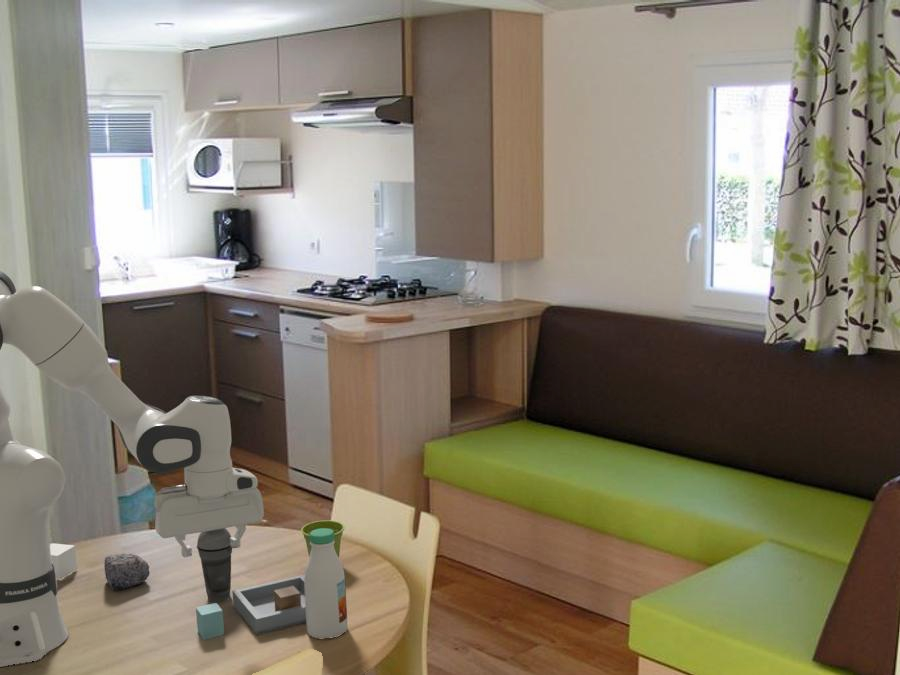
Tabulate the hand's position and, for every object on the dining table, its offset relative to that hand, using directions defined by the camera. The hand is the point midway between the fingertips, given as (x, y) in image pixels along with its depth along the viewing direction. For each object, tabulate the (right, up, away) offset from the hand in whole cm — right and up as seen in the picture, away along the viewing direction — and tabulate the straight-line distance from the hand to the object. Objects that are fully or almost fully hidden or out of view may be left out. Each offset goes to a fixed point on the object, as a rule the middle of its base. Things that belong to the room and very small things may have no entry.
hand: (211, 551), depth 206 cm
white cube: (-41, -12, +32) cm, 53 cm away
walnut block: (+14, -14, +7) cm, 21 cm away
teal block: (-1, -16, +2) cm, 16 cm away
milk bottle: (+22, -16, +1) cm, 27 cm away
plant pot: (+18, -10, +33) cm, 38 cm away
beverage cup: (-2, -13, +18) cm, 22 cm away
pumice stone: (-24, -12, +25) cm, 37 cm away
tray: (+12, -14, +10) cm, 21 cm away
